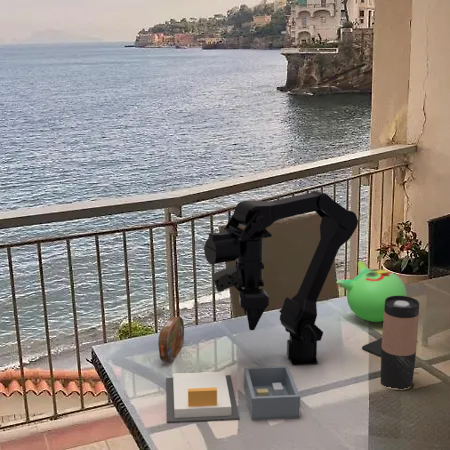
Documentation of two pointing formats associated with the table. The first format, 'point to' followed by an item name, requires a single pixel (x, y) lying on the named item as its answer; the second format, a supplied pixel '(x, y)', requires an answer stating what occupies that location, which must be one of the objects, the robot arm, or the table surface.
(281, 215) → the robot arm
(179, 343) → the tin
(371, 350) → the phone
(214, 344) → the table surface
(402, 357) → the travel mug
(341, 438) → the table surface
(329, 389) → the table surface
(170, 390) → the mat
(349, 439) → the table surface
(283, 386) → the parts tub
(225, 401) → the lid
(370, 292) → the toy bird
